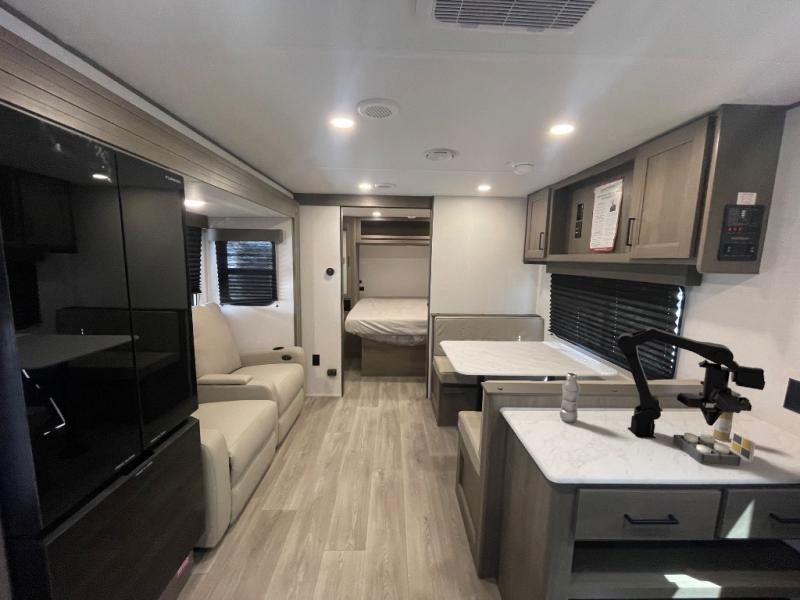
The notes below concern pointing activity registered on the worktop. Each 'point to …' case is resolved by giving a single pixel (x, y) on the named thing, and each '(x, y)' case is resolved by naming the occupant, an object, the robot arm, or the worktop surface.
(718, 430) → the sprinkles bottle
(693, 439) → the button
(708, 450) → the button
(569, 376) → the plastic bottle
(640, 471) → the worktop surface
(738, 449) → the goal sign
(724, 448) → the button
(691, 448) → the button board
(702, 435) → the button
